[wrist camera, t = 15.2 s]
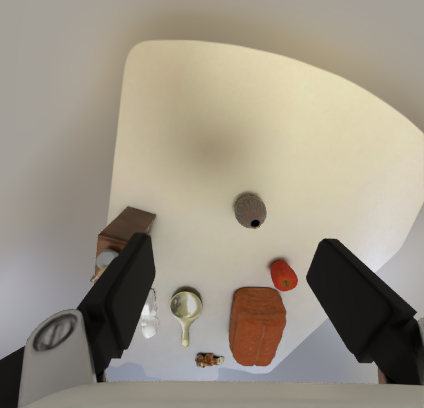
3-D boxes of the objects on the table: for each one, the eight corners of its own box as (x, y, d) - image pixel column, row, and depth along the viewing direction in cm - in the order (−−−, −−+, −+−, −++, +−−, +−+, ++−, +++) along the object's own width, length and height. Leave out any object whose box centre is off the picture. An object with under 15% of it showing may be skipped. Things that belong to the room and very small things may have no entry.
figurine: (103, 242, 31) (80, 267, 26) (127, 248, 32) (110, 273, 26) (103, 263, 33) (81, 290, 28) (125, 268, 34) (109, 295, 28)
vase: (266, 206, 41) (279, 225, 33) (243, 221, 43) (250, 243, 35) (250, 185, 39) (260, 201, 31) (227, 203, 41) (230, 221, 33)
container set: (137, 287, 54) (130, 304, 49) (154, 288, 54) (148, 304, 49) (145, 325, 62) (140, 342, 57) (160, 325, 62) (155, 343, 57)
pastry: (222, 362, 73) (222, 373, 70) (195, 360, 73) (194, 371, 69) (225, 354, 70) (226, 365, 67) (196, 351, 70) (196, 362, 66)
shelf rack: (119, 259, 48) (92, 297, 38) (127, 206, 41) (97, 235, 30) (143, 265, 49) (124, 304, 39) (156, 214, 42) (136, 245, 31)
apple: (276, 252, 47) (287, 273, 41) (292, 261, 49) (305, 283, 42) (262, 266, 50) (270, 289, 43) (278, 274, 51) (288, 297, 44)
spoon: (198, 341, 69) (197, 348, 67) (172, 340, 69) (171, 346, 67) (204, 288, 53) (203, 294, 51) (170, 285, 52) (168, 292, 50)
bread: (227, 334, 64) (229, 371, 55) (232, 286, 53) (237, 321, 44) (267, 335, 65) (277, 372, 55) (281, 287, 53) (296, 322, 44)
